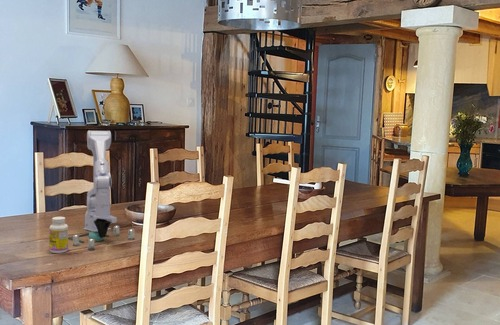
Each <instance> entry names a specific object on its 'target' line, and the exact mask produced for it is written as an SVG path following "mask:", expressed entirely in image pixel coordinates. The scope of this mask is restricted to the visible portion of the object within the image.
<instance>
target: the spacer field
mask: <svg viewBox="0 0 500 325" xmlns="http://www.w3.org/2000/svg"><path fill="white" fill-rule="evenodd" d="M112 231H113V235H112V236H114V237H119V236H120V225H117V224H116V225H113V230H112ZM127 233H128V235H127V237H128V240H135V228H128V232H127ZM79 235H80V234H73V235H72V237H73V240H72V246H73V247H79V246H80V242H79V240H80V237H79ZM118 235H119V236H118ZM87 250H89V251H93V250H95V239H94V238H90V239H89V238H88V239H87Z"/></svg>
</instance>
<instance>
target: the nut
mask: <svg viewBox="0 0 500 325" xmlns="http://www.w3.org/2000/svg"><path fill="white" fill-rule="evenodd" d="M88 233H89V235H88V239H90V238H94V239H95V242H96V241H97V242H102V241H104V238H100V237H99V233H98V231H89V232H88ZM97 242H96V243H97Z"/></svg>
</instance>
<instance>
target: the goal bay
mask: <svg viewBox="0 0 500 325" xmlns="http://www.w3.org/2000/svg"><path fill="white" fill-rule="evenodd" d="M78 235H79V238H81V237H85V236H89V232H86V233H83V234H78ZM106 237H107V238H109V237H110V235H109V234H106ZM106 237H105V238H106ZM69 240H70V241H73V236H68V241H69ZM84 243H85V241H84V240H81V239H79V244H84Z"/></svg>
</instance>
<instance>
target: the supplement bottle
mask: <svg viewBox="0 0 500 325" xmlns="http://www.w3.org/2000/svg"><path fill="white" fill-rule="evenodd" d="M51 222H52V224H50V226H49V231H48V232H49V234H48V235H49V238H48V239H49V243H48V244H49V246H48V247H49V252H50V253H53V254H62V253H66V252H67V251H68V250H69V239H68V237H69V225H68V224H67V223H66V217H64V216H53V217H52V218H51Z"/></svg>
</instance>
